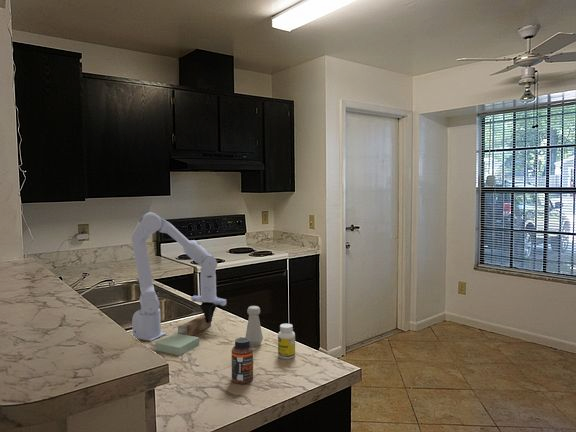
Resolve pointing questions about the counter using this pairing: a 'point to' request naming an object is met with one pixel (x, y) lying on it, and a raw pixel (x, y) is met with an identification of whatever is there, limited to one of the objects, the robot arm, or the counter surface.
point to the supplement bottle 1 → (242, 361)
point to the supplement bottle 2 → (286, 341)
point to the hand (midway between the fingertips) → (209, 322)
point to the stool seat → (177, 344)
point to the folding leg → (193, 326)
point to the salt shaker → (254, 327)
